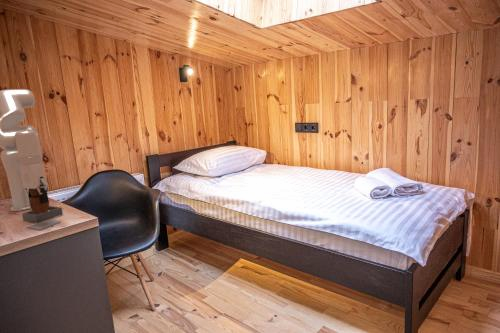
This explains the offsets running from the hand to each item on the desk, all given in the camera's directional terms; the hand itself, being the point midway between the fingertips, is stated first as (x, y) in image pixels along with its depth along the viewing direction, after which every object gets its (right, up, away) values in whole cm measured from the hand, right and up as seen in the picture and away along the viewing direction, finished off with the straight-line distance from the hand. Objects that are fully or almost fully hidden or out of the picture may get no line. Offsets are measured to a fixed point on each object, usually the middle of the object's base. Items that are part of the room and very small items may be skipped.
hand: (39, 202), depth 136 cm
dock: (-7, -9, +13) cm, 17 cm away
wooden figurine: (0, -5, +1) cm, 5 cm away
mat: (+1, -10, +2) cm, 11 cm away
